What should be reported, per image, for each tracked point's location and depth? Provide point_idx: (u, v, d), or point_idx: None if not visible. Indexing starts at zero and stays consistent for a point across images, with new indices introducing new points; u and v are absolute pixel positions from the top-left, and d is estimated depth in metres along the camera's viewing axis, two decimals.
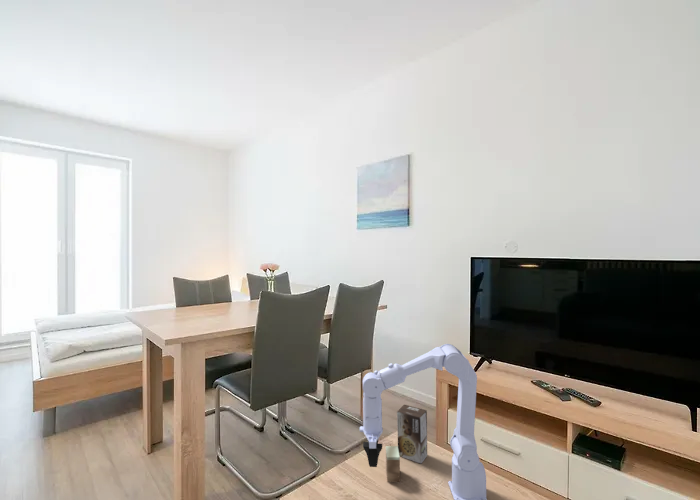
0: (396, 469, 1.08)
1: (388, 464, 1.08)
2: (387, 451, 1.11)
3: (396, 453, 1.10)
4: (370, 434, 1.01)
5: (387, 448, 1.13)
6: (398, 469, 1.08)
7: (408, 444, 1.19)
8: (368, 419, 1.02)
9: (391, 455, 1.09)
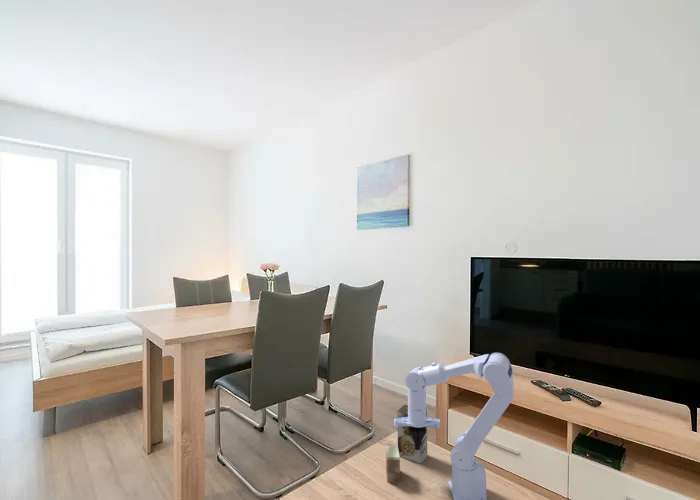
0: (396, 469, 1.08)
1: (388, 464, 1.08)
2: (387, 451, 1.11)
3: (396, 453, 1.10)
4: (407, 419, 1.11)
5: (387, 448, 1.13)
6: (398, 469, 1.08)
7: (408, 444, 1.19)
8: None
9: (391, 455, 1.09)
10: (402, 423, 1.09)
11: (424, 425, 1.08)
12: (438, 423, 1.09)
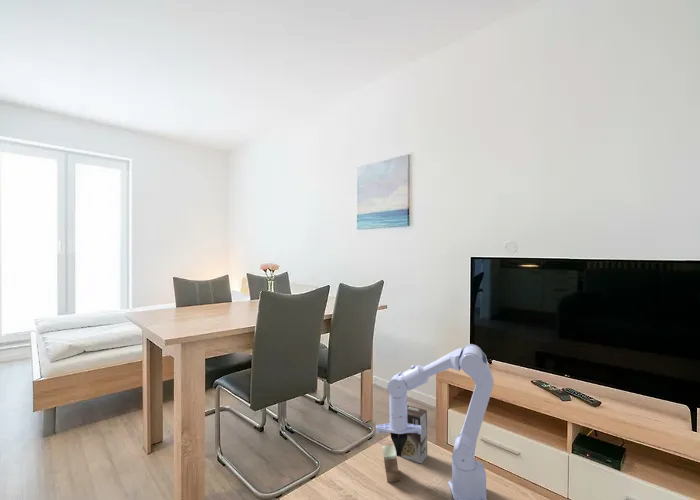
0: (395, 468, 1.08)
1: (386, 464, 1.08)
2: (384, 451, 1.11)
3: (393, 452, 1.10)
4: (389, 426, 1.11)
5: (384, 448, 1.13)
6: (396, 468, 1.08)
7: (408, 444, 1.19)
8: None
9: (388, 454, 1.09)
10: (383, 429, 1.09)
11: (405, 431, 1.08)
12: (419, 429, 1.09)
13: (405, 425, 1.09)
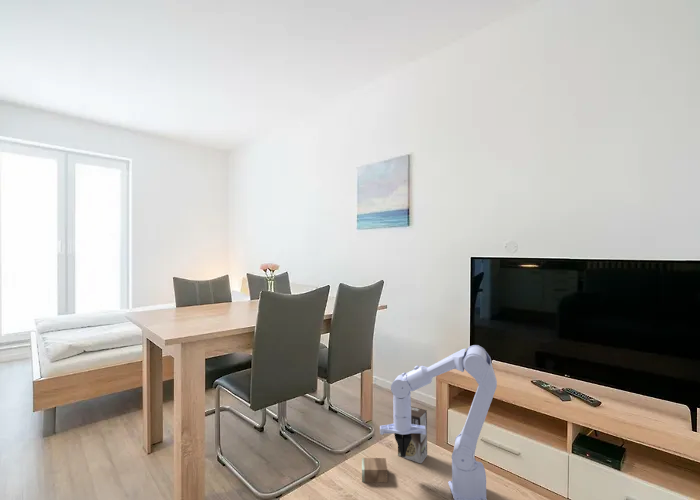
0: (374, 472, 1.08)
1: (369, 480, 1.08)
2: None
3: None
4: (393, 426, 1.11)
5: None
6: (374, 471, 1.08)
7: None
8: None
9: (362, 475, 1.10)
10: (387, 430, 1.09)
11: (409, 432, 1.08)
12: (423, 430, 1.09)
13: (409, 425, 1.09)
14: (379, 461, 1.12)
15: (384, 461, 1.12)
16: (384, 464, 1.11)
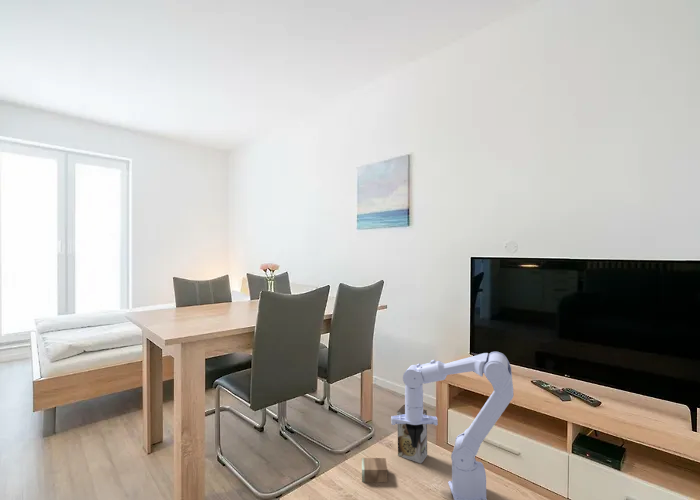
0: (374, 472, 1.08)
1: (369, 480, 1.08)
2: None
3: None
4: (404, 417, 1.10)
5: None
6: (374, 471, 1.08)
7: (408, 444, 1.19)
8: None
9: None
10: (399, 420, 1.08)
11: (421, 422, 1.07)
12: (435, 421, 1.08)
13: (421, 416, 1.07)
14: (379, 461, 1.12)
15: (384, 461, 1.12)
16: (384, 464, 1.11)
